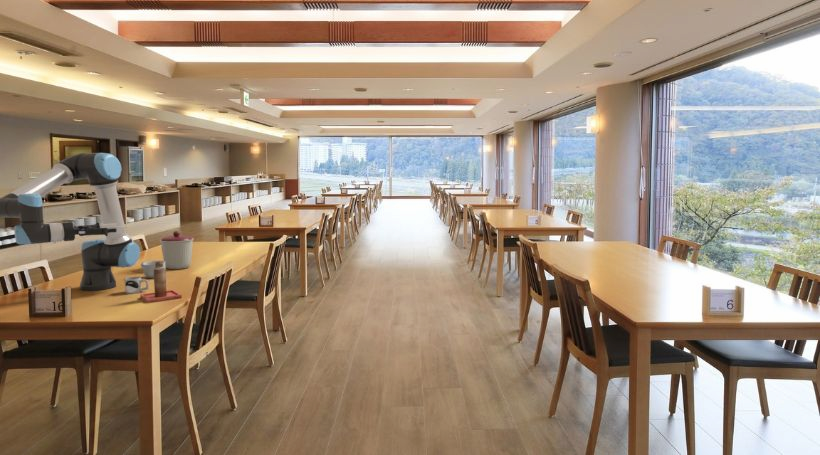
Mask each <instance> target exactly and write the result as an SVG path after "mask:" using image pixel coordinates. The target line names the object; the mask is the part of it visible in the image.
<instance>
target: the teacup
mask: <svg viewBox="0 0 820 455" xmlns="http://www.w3.org/2000/svg"><path fill="white" fill-rule="evenodd" d="M158 261H161V262H162V263H163V266H164V269H166V270H167V268H166V266H165V261H164V260H161V259H160V260H158V259H157V260H150V261H143V262H141V263H140V267H141V269H142V270H143V275H144V276H145V277H147V278H148V279H154V267H156V266H155V264H156V262H158Z"/></svg>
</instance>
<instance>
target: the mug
mask: <svg viewBox="0 0 820 455" xmlns="http://www.w3.org/2000/svg"><path fill="white" fill-rule="evenodd" d="M142 282H143V283H144V282H145V283H146V286H145V287H142ZM149 284H150V283H149V280H148V279H145V278H142V277H141V276H128V277H125V278H124V288H125V294H127V295H130V294H135V295H136V294H139V293H140V294H141V293H142V291H147V290H149V287H150V285H149Z"/></svg>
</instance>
